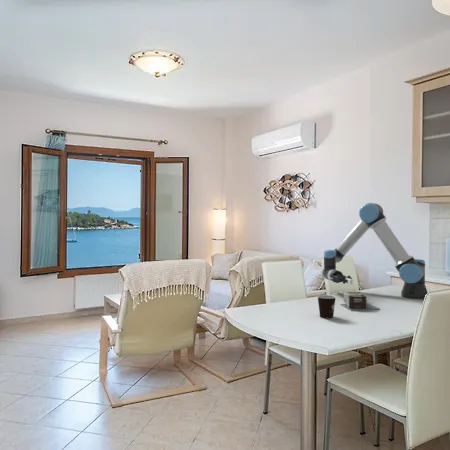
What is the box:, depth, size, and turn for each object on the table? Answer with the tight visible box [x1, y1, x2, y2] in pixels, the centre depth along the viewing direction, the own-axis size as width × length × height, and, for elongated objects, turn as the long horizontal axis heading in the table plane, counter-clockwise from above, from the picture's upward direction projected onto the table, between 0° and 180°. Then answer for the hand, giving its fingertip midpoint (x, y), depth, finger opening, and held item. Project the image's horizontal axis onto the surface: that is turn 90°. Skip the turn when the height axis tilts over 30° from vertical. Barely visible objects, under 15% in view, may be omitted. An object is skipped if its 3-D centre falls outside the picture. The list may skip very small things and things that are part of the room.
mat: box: [340, 302, 381, 312], centre depth 230 cm, size 16×14×1 cm
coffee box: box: [343, 291, 367, 309], centre depth 232 cm, size 9×6×16 cm
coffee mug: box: [317, 294, 337, 319], centre depth 209 cm, size 12×9×10 cm
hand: (351, 282), depth 241 cm, fingers closed
